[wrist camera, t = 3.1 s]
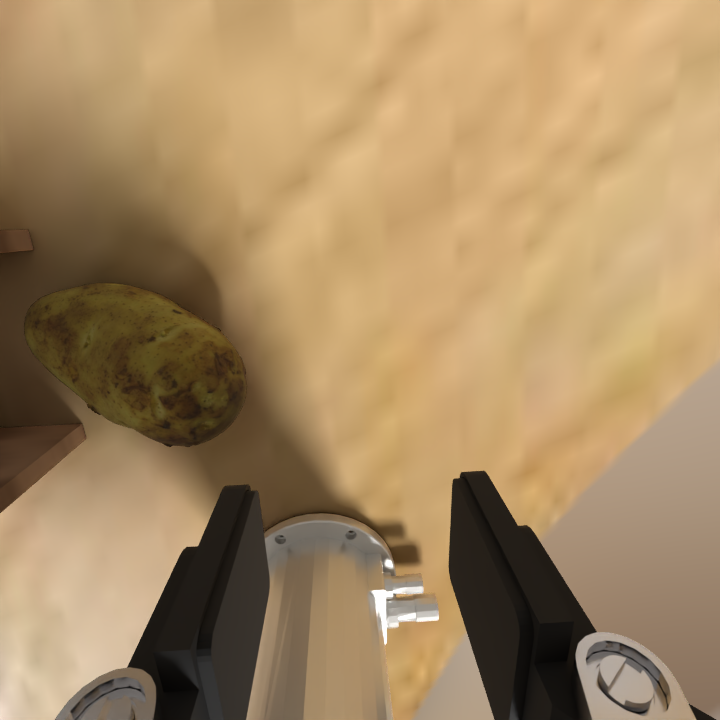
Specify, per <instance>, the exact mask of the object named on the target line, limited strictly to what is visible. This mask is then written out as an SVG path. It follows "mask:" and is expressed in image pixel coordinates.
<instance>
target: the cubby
mask: <svg viewBox="0 0 720 720" xmlns="http://www.w3.org/2000/svg"><path fill="white" fill-rule="evenodd" d="M28 250H34V249H33V245H32V242H31V238H30V234H29V231H28V230H0V253H7V252H17V251H28ZM85 439H86V436H85V432H84V429H83V425H82V424H66V425H47V426H27V427H8V428H0V513H1V512H2V511H3V510H4V509H6V508H7V507H8V506H9V505H10V504H11V503H13V502H14V501H15V500H16V499H17V498H18V497H19V496H21V495H22V494H23V493H24V492H25V491H26V490H28V489H29V488H30V487H31V486H32V485H33V484H34V483H36V482H37V481H38V480H39V479H40V478H41V477H43V476H44V475H45V474H46V473H47V472H48V471H49V470H51V469H52V468H53V467H54V466H55V465H56V464H58V463H59V462H60V461H61V460H62V459H63V458H64V457H66V456H67V455H68V454H69V453H70V452H71V451H72V450H74V449H75V448H76V447H77V446H78V445H79V444H81V443H82V442H83V441H84V440H85Z"/></svg>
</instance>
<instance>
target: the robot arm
mask: <svg viewBox="0 0 720 720" xmlns="http://www.w3.org/2000/svg"><path fill="white" fill-rule="evenodd" d="M449 574H450V579H451V583H452V586H453V589H454V592H455V596H456V599H457V602H458V605H459V608H460V611H461V615H462V618H463V621H464V624H465V627H466V631H467V634H468V637H469V640H470V643H471V646H472V650H473V653H474V655H475V659H476V662H477V665H478V668H479V672H480V675H481V678H482V681H483V684H484V687H485V690H486V694H487V697H488V700H489V703H490V707H491V710H492V713H493V716H494V719H495V720H716V719H714V718H712V717H711V716H709V715H707V714H705V713H704V712H702V711H700V710H698V709H697V708H695V707H693V706H692V705H690V704H688V702H687V700H686V698H685V696H684V694H683V692H682V690H681V688H680V686H679V684H678V682H677V681H676V679H675V678H674V676H673V675H672V673H671V671H670V670H669V669H668V667H666V665H665V664H663V662H662V661H661V660H660V659H659V658H658V657H657V656H656V655H654V654H653V653H652V652H651V651H649V650H648V649H646V648H645V647H643V646H642V645H641V644H639V643H637V642H635V641H633V640H631V639H629V638H627V637H625V636H621V635H617V634H613V633H610V632H596V630H595V628H594V627H593V625H592V624H591V622H590V620H589V619H588V617H587V616H586V614H585V612H584V611H583V609H582V608H581V606H580V605H579V603H578V601H577V600H576V598H575V597H574V595H573V594H572V592H571V590H570V589H569V587H568V586H567V584H566V583H565V581H564V579H563V578H562V576H561V574H560V573H559V571H558V570H557V568H556V566H555V565H554V563H553V562H552V560H551V559H550V557H549V555H548V554H547V552H546V551H545V549H544V548H543V546H542V544H541V543H540V541H539V540H538V538H537V536H536V535H535V533H534V532H533V531H532V529H531V528H530V527H528V526H527V525H524V526H518V525H517V523H516V522H515V520H514V518H513V517H512V515H511V513H510V512H509V510H508V508H507V507H506V505H505V503H504V501H503V500H502V498H501V496H500V495H499V493H498V491H497V490H496V488H495V486H494V485H493V483H492V481H491V480H490V478H489V476H488V474H487V473H486V472H485V471H473V472H462V473H461V474H460V478H458V479H453V484H452V504H451V526H450V547H449ZM404 593H406V594H413V596H403V597H396V594H404ZM418 593H423V581H422V576H421V574H407V575H405V576H396V572H395V565H394V560H393V557H392V554H391V551H390V550H389V548H388V546H387V545H386V543H385V541H384V540H383V539H382V538H381V537H380V536H379V535H378V534H377V533H376V532H375V531H374V530H372V529H371V528H369V527H368V526H367V525H365V524H363V523H361V522H359V521H356V520H354V519H352V518H348V517H345V516H341V515H336V514H325V513H319V514H306V515H302V516H297V517H293V518H290V519H288V520H285V521H283V522H280V523H278V524H277V525H275V526H273V527H272V528H270V529H269V530H267V531H266V532H265V533H264V530H263V523H262V515H261V508H260V500H259V494H258V491H257V490H256V491H251V489H250V486H249V485H234V486H225V487H224V488H223V489H222V492H221V494H220V496H219V499H218V501H217V503H216V506H215V508H214V510H213V513H212V515H211V517H210V520H209V522H208V524H207V527H206V529H205V531H204V534H203V536H202V539H201V541H200V543H199V546H197V547H186V548H185V549H184V550H183V551H182V553H181V555H180V556H179V559H178V561H177V563H176V565H175V567H174V569H173V571H172V573H171V576H170V578H169V580H168V582H167V584H166V586H165V588H164V590H163V593H162V595H161V597H160V599H159V601H158V603H157V605H156V607H155V610H154V612H153V614H152V616H151V618H150V620H149V622H148V624H147V627H146V629H145V631H144V633H143V635H142V637H141V639H140V642H139V644H138V646H137V648H136V650H135V652H134V654H133V656H132V659H131V661H130V663H129V665H128V667H127V668H122V669H116V670H113V671H111V672H109V673H106V674H104V675H101V676H99V677H98V678H96V679H95V680H93V681H92V682H90V683H89V684H87V685H86V686H84V687H83V688H82V689H81V690H80V691H79V692H78V693H76V694H75V695H74V696H73V697H72V698H71V699H70V700H69V701H68V702H67V704H66V705H65V706H64V708H63V709H62V710H61V712H60V713H59V714H58V716H57V717H56V719H55V720H393V714H392V705H391V696H390V687H389V678H388V669H387V660H386V651H385V644H386V629H389V628H398V622H407V621H416V622H425V621H438V618H439V613H438V604H437V599H436V595H435V593H425V594H418Z"/></svg>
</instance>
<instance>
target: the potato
mask: <svg viewBox="0 0 720 720" xmlns="http://www.w3.org/2000/svg"><path fill="white" fill-rule="evenodd" d="M24 333H25V338H26V341H27V344H28V346H29V348H30V349H31V351H32V352H33V354H34V355H35V356H36V357H37V359H38V360H39V361H40V362H41V363H42V364H43V365H44V366H45V367H46V368H47V369H48V370H49V371H50V372H51V373H52V374H53V375H55V376H56V377H57V378H58V379H59V380H60V381H61V382H63V383H64V384H65V385H67V386H68V387H69V388H70V389H71V390H72V391H74V392H75V393H76V394H77V395H78V396H80V397H81V398H82V399H83V400H84V401H85V402H86V403H88V405H87V406H88V408H90V409H92V411H94V412H95V413H97V414H99V415H102V416H104V417H105V418H106V419H108V420H110V421H111V422H113V423H116V424H119V425H122V426H125V427H128V428H132V429H134V430H136V431H138V432H139V433H141V434H143V435H145V436H146V437H148V438H151V439H153V440H155V441H158V442H160V443H162V444H164V445H166V446H169V447H171V446H185V447H190V446H192V445H198V444H201V443H203V442H206V441H208V440H211V439H212V438H214V437H216V436H217V435H219V434H220V433H222V432H223V431H225V430H226V429H227V428H228V427H229V426H230V425H231V424H232V423H233V421H234V420H235V419H236V417H237V416H238V414H239V412H240V411H241V409H242V407H243V404H244V401H245V398H246V390H247V386H246V376H245V375H246V372H245V367H244V364H243V362H242V359H241V357H240V356H239V355H238V353H237V352H236V350H235V349H234V347H233V346H232V344H231V343H230V342H229V341H228V339H227V338H226V337H225V336H224V335H223V334H222V333H221V330H220V329H218V328H216V327H214V326H213V325H210V324H209V323H207V322H206V321H204V320H203V319H201V318H199V317H198V316H196V315H194V314H192V313H191V312H189V311H187V310H184V309H182V308H180V307H179V306H178V305H177V304H176V303H174V302H173V301H171V300H170V299H168V298H166V297H164V296H162V295H160V294H158V293H155V292H151V291H148V290H145V289H141V288H137V287H133V286H128V285H122V284H114V283H94V284H88V285H83V286H78V287H74V288H70V289H66V290H62V291H58V292H54V293H52V294H49V295H46V296H44V297H42V298H40V299H38V300H37V301H36V302H35V303H34V304H33V305H32V306H31V307H30V308H29V310H28V312H27V314H26V317H25V323H24Z"/></svg>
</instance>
